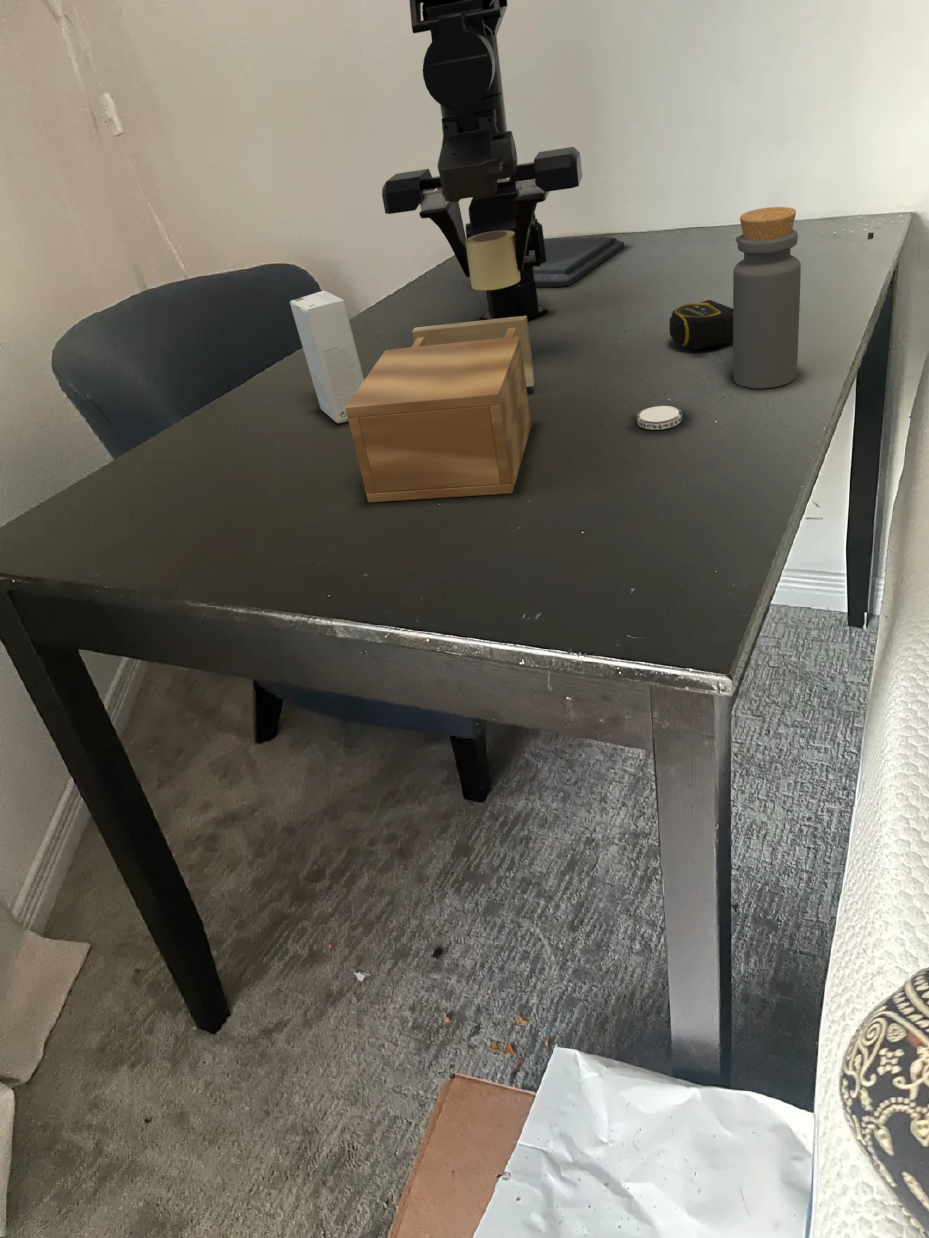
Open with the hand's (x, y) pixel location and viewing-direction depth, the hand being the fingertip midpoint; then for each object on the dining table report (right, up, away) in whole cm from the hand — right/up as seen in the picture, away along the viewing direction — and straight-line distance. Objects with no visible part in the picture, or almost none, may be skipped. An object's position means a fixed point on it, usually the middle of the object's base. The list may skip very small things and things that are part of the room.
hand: (494, 273), depth 95 cm
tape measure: (+23, -5, +7) cm, 25 cm away
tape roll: (0, -1, +1) cm, 1 cm away
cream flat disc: (+15, -17, -9) cm, 24 cm away
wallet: (+10, +17, +43) cm, 47 cm away
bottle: (+26, -12, -4) cm, 29 cm away
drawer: (-2, -13, 0) cm, 13 cm away
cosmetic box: (-16, -13, +7) cm, 21 cm away
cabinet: (-4, -21, -9) cm, 23 cm away
